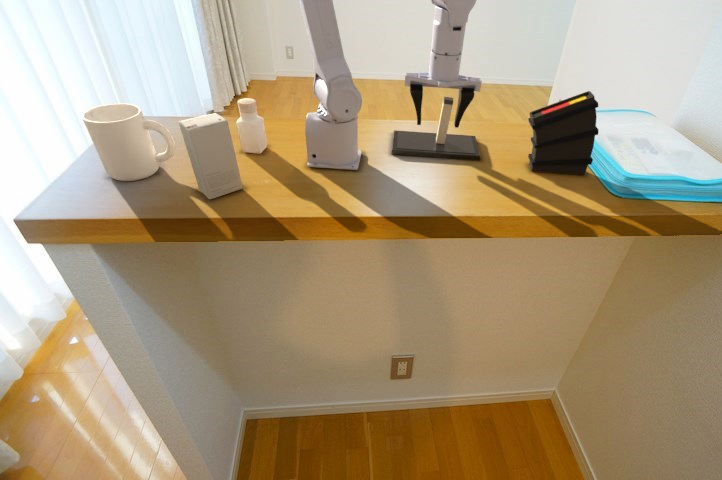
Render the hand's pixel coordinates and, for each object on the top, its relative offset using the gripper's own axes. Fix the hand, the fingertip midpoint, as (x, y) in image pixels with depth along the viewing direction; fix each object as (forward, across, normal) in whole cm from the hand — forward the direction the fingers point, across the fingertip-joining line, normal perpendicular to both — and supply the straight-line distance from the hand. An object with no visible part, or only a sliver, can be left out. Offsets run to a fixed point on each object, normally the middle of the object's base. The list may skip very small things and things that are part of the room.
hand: (437, 124), depth 85 cm
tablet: (+5, 0, 0) cm, 5 cm away
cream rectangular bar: (+4, +1, 0) cm, 4 cm away
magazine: (+5, +23, -7) cm, 25 cm away
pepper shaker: (+5, -36, -7) cm, 37 cm away
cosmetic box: (+5, -37, -23) cm, 44 cm away
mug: (+5, -52, -18) cm, 55 cm away
